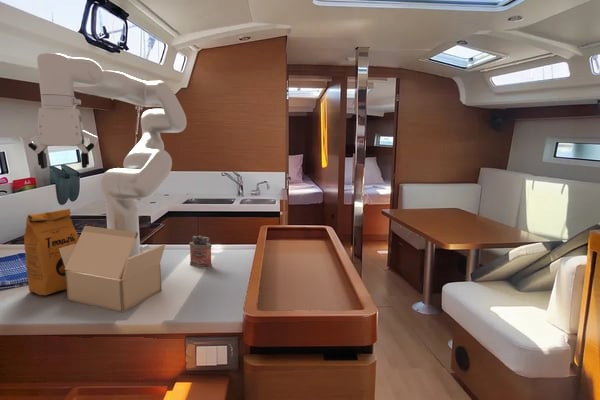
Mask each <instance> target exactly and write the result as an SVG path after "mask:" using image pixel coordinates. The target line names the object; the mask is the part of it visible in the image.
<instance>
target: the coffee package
mask: <svg viewBox="0 0 600 400" xmlns="http://www.w3.org/2000/svg"><path fill="white" fill-rule="evenodd" d="M70 216H71V209H70V208H66V209H61V210H60V209H59V210H55V211H54V210H53V211H47V212H40V213H33V214H32V213H31V214H28V215H27V216H26V220H25V221H26V222H25V226H26V227H25V231H24V235H23V236H24V238H23V239H24V240H23V242H24V253H25V264H26V265H25V266H26V267H25V268H26V276H27V281H28V282H27V284H28V292H30V293H35V294H36V295H39V296H48V295H51V294H55V293H58V292H61V291H67V286H66V275H65V271H66V270H65V265H64V262H63V260H62V257H61V254H60V251H59V248H62V247H65V246H69V245H72V244H76V243H77V241H78V239H79V235H78V233H77V230H76V228H75V227H74V224H73V221H72V218H70Z"/></svg>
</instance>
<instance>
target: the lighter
mask: <svg viewBox="0 0 600 400" xmlns="http://www.w3.org/2000/svg"><path fill="white" fill-rule="evenodd" d="M188 246H189V254H190V256H189V257H190V259H189V260H190V261H189V266H192V265H193V267H196V266H198V267H197V268H202V267H210V268H212V267H213V264H212V247H213V246H212V244H211V243H210V237H207V236H202V235H198V236H195V235H193V236H192V241H190V242H189V245H188ZM211 266H212V267H211Z"/></svg>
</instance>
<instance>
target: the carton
mask: <svg viewBox="0 0 600 400" xmlns="http://www.w3.org/2000/svg"><path fill="white" fill-rule="evenodd" d="M76 244H77V243H76ZM76 244H72V245H69V246H65V247H62V248H59V251H60V254H61V257H62V260H63V262H64V265H65V267H66V265H67V263H68V261H69V258H70V256H71V254H72V252H73V250H74V248H75V246H76ZM165 247H166V244H160V245H158V246H156V247H154V248H153V247H152V248H149V249H148V250H146V251H143V252H142V253H140V254H137V255H135V256H132V257H129V258H127V261H126V265H125V267H124V270H123V272H122V275H121V277H120V280H119V279H114V278H108V277H103V276H97V275H91V274H86V273H80V272H74V271H69V270H66V271H65V275H66V286H67V289H66V294H67V296H66V297H67V301H69V302H72V303H73V302H74V303H78V304H83V305H86V306H87V305H88V306H92V307H97V308H101V309H106V310H110V311H115V312H121V313H124V312H126V311H128V310H130V309H131V308H133V307H135V306H137V305H138V304H140V303H142V302H144V301H146V300H148V299H149V298H151V297H153V296H155V295H157V294H159V293H161V292H162V289H163V288H162V269H161V267H162V266H161V261H162V259H163V255H164V250H165Z"/></svg>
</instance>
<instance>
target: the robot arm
mask: <svg viewBox="0 0 600 400" xmlns="http://www.w3.org/2000/svg"><path fill="white" fill-rule="evenodd" d="M36 63H37V71H38V72H37V73H38V74H37V75H38V80H39V82H38V83H39V90H40V91H39V92H40V100H41V101H40V102H41V107H39V108H38V114H37V115H38V117H37V130H35V131H32V132H31V133H29V134H26V135H24V136H23V140H24V142H25V143H26V145H28V147H29V149H31V150H32V151H33V152H34V153H36V154H37V163H38V166H40V168H41V170H42V169H47V168H48V160H47V153H46V152H45V151H46V149H47V148H48V147H77V148H78V149H79V150H80V151H81V154H80V161H81V168H82V169H86V168H87V167H88V165H90V159H89V153H90V152H91V150H93V149H94V148H95V146H96V144H97V142H98V140H99V137H98V136H97V135H94V134H92V133H90V132H88V131H86V130H84V124H83V119H82V116H81V115H82V114H81V112H80V110H79V109H78V108H76V107H77V106H78V105H79V106H81V104H82V100H81V99H78V98H76V97H75V92H77V93H82V94H87V95H92V96H97V97H102V98H106V99H114V100H116V101H117V100H118V101H121V102H126V103H129V104H132V105H135V106H139V107H146V108H148V107H149V108H151V107H153V108H152V109H147V110H145V111H144V112H143V113H142V115H141V117H140V126H141V138H140V140H139V141H138V143H136V145H135V146H133V148H132V149H130V150H131V151H129V153H127V155H126V156H125V158H124V159H123V165H122V166H123V168H120V167H117V168H109V169H108V170H106V171H104V173H103V174H102V175H101V178H100V188H101V192H102V194H103V199H104V203H105V211H106V212H105V213H106V214H105V215H106V225H107V226H106V228H107V229H115V230H123V231H131V232H137V233H138V235H137V238H136V240H135V243H134V245H133V248H132V250H131V253H130V255H129V257H132V256H135V255H137V254H140V253H142V252H145V251H148V250H150V245H149V244H144V245H140V244H141V242H140V241H141V240H140V224H139V221H140V219H139V210H138V205H137V204H136V201H135V199H136V200H146V199H149V198H151V197H152V196H154V195H155V194H156V193H157V191H158V189H159V188H160V187H161V186H162V184H163V183H164V182H165V180H167V178H168V176H169V174H171V170H172V167H173V159H172V157H171V155H170V154H169V152H167V150H165V145H164V141H163V139H162V137H161V133H163V134H164V133H167V134H168V133H170V134H172V133H173V134H174V133H176V134H178V133H181V132H183V131H184V130H185V129H186V128H187V124H188V123H187V116H186V113H185V111H184V109H183V107H182V105H181V103H180V102H179V99H178V98H177V96H176V94H175V92H174V91H173V89H172V88H171V87H170V85H169V84H168V83H166V82H165V81H162V80H149V81H147V80H142V79H140V78H136V77H134V76H131V75H129V74H126V73H124V72H120V71H116V70H115V71H114V70H103V69H102V66H101V65H100V64H99V63H98V62H96V61H94V60H93V59H90V58H87V57H72V56H67V55H66V54H62V53H55V52H42V53H39V54H38V55H37V57H36ZM154 107H161V108H154ZM36 137H37V138H38V143H39V145H38V144H36V143H35V142H34V141H33V139H35V138H36ZM86 138H87V139H89V140H90V141H89V142H90V143H88V144H87V146H86V144H85V143H86V141H85V140H86Z"/></svg>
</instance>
